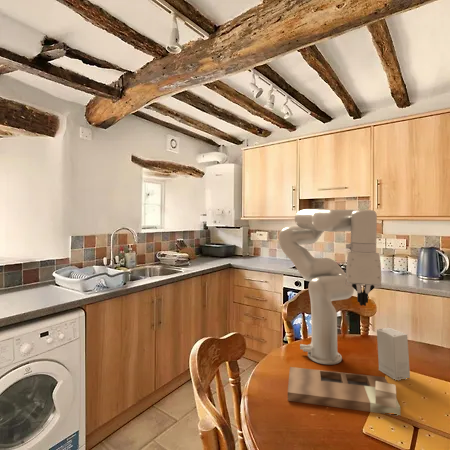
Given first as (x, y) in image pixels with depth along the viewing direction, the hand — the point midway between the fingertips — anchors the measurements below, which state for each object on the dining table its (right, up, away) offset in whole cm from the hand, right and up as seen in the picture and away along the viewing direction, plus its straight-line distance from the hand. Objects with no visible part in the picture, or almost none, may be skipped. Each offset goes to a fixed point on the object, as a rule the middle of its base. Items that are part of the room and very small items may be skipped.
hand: (362, 304), depth 97 cm
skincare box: (+13, -26, +6) cm, 30 cm away
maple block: (0, -24, -13) cm, 27 cm away
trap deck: (-10, -26, -4) cm, 28 cm away
